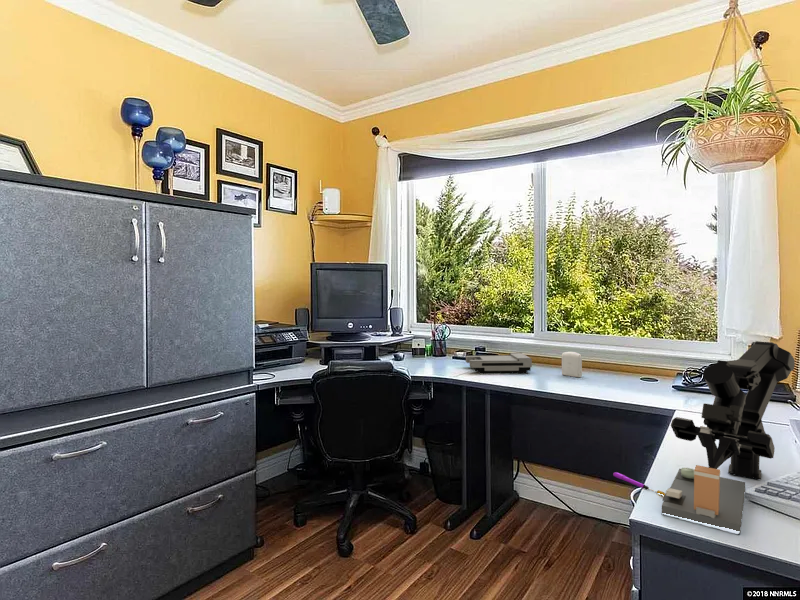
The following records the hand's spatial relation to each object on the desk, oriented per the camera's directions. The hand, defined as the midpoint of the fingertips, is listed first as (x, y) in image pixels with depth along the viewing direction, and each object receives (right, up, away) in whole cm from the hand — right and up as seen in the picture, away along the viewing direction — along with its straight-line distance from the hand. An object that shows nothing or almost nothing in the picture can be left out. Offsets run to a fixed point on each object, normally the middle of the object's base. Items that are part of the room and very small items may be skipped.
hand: (711, 470), depth 102 cm
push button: (0, -4, +8) cm, 9 cm away
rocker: (-10, -4, -3) cm, 11 cm away
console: (-1, -7, 0) cm, 7 cm away
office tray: (-14, -2, +156) cm, 157 cm away
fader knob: (-7, -5, -9) cm, 12 cm away
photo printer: (+20, -2, +139) cm, 140 cm away
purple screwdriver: (-10, -7, +7) cm, 15 cm away
